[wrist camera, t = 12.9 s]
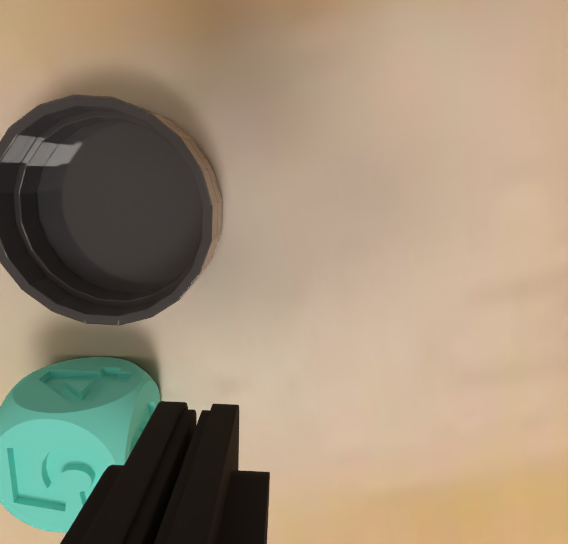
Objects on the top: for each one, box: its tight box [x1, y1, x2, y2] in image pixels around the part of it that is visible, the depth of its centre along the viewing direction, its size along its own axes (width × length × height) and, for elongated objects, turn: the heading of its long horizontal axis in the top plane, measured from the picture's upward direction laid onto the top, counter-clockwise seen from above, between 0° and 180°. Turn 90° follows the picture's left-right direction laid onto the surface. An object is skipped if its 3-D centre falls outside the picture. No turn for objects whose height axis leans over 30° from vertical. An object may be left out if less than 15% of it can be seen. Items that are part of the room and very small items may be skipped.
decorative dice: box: [0, 357, 161, 532], centre depth 29 cm, size 8×8×8 cm
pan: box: [0, 95, 222, 325], centre depth 28 cm, size 13×13×4 cm
